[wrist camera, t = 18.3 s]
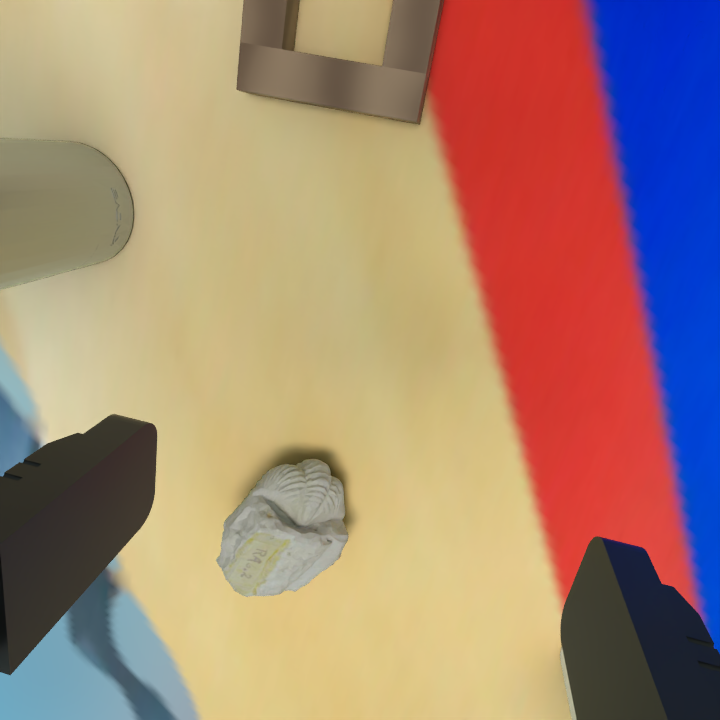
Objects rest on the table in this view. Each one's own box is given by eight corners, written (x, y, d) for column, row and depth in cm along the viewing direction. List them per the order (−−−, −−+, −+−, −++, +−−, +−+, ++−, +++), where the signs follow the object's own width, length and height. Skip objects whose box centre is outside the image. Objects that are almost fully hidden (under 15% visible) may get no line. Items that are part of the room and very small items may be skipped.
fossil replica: (367, 456, 47) (258, 430, 49) (339, 504, 39) (211, 470, 41) (348, 576, 50) (247, 547, 52) (319, 642, 42) (202, 604, 44)
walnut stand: (250, 93, 38) (236, 89, 36) (269, -119, 34) (255, -139, 32) (419, 124, 37) (416, 122, 35) (461, -93, 33) (461, -112, 31)
